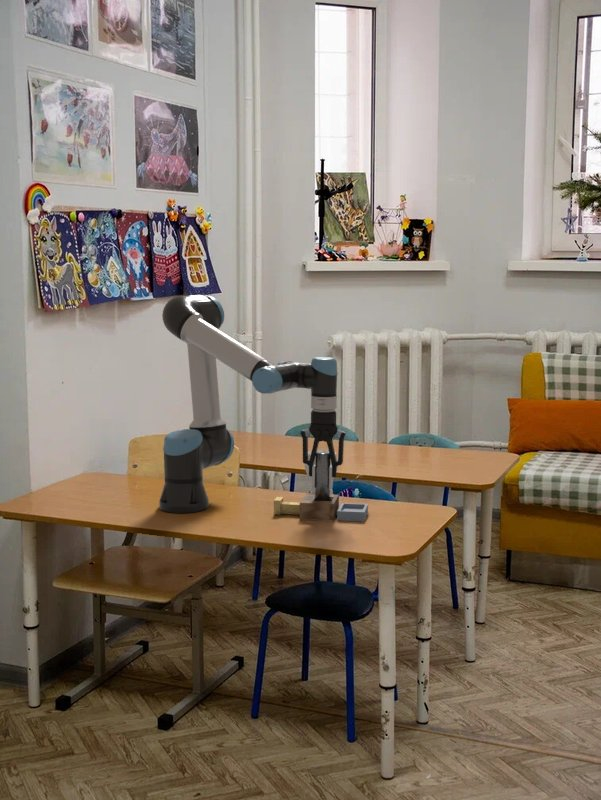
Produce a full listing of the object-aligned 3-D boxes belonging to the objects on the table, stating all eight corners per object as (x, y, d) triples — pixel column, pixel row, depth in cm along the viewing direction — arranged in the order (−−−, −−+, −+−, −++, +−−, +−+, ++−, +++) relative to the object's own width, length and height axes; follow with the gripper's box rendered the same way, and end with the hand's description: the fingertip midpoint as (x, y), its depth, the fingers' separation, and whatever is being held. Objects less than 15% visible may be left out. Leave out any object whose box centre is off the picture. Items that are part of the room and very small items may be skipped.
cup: (309, 503, 313) (309, 456, 311) (300, 496, 323) (300, 450, 321) (342, 501, 316) (342, 454, 313) (332, 494, 326) (332, 448, 324)
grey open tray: (337, 520, 293) (337, 511, 293) (341, 511, 303) (341, 502, 303) (364, 521, 292) (364, 512, 292) (368, 512, 302) (368, 504, 301)
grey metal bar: (313, 510, 297) (314, 454, 295) (316, 506, 302) (316, 451, 299) (328, 511, 297) (329, 455, 294) (330, 507, 301) (331, 452, 298)
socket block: (299, 519, 294) (299, 502, 294) (306, 509, 306) (306, 493, 305) (333, 520, 293) (333, 504, 292) (338, 510, 304) (338, 494, 304)
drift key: (273, 514, 299) (273, 500, 299) (276, 510, 304) (276, 497, 303) (313, 516, 297) (313, 502, 297) (315, 512, 302) (315, 498, 301)
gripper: (292, 410, 292) (291, 488, 296) (351, 413, 289) (350, 491, 293) (296, 406, 300) (295, 483, 303) (354, 409, 297) (353, 486, 300)
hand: (322, 487), depth 298 cm, fingers closed on grey metal bar, 4 cm apart
